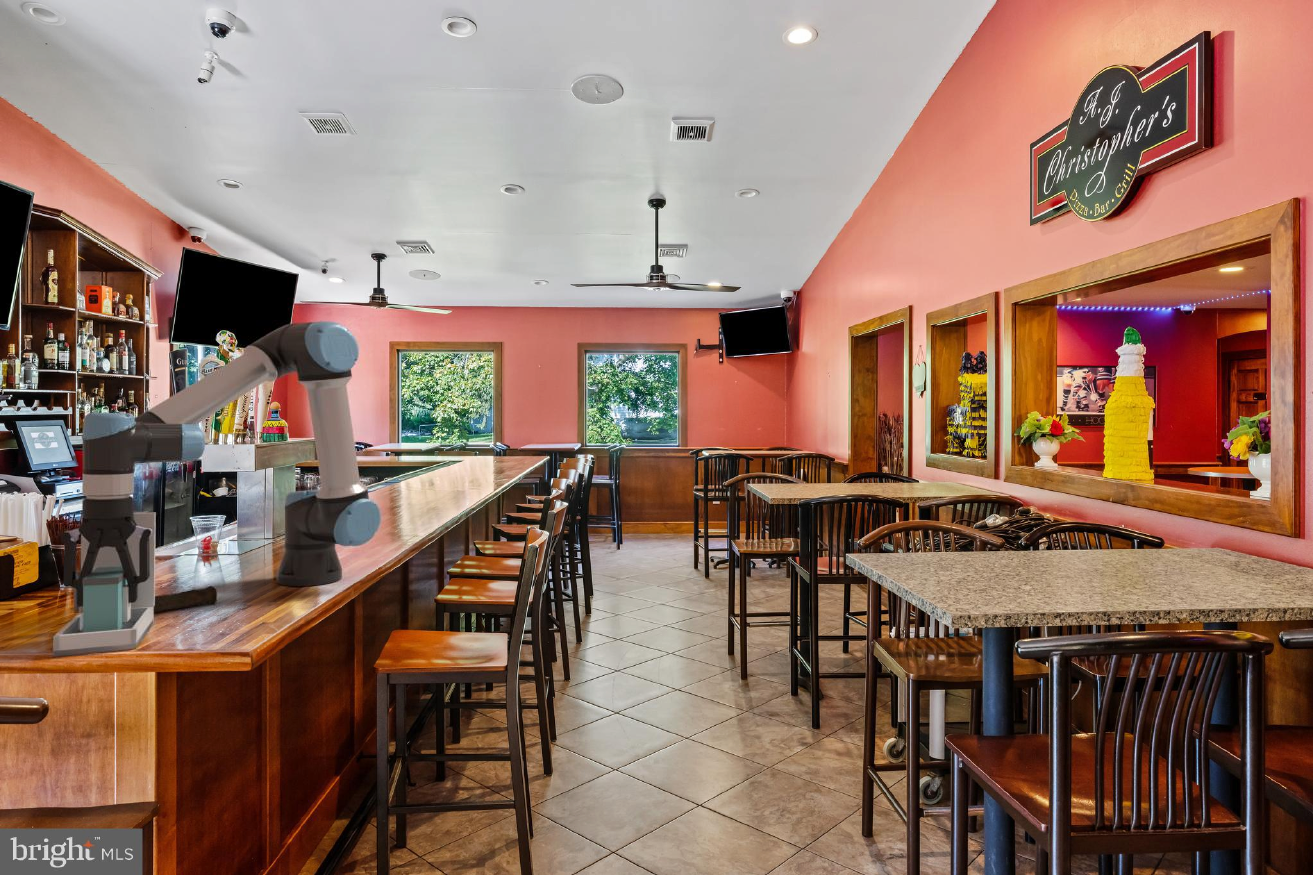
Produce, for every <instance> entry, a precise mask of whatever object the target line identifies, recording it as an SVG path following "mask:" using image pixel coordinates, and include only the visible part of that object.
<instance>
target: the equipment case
mask: <svg viewBox="0 0 1313 875" xmlns="http://www.w3.org/2000/svg"><path fill="white" fill-rule="evenodd" d="M156 515H157V512H154V511H153V512H134V521H135V523H136V524H137V526H139V527H143V528H152V529H153V533H152V535H151V538H150V540H149V547H150V577H149V578H148V579H147V581H145V582H142V583H139V584H138V598H137V600H136V602H135V603H131V618H130V619H129V621H128V622H126V623H125V624H124V625H123V626H122V628H121V629H120V630H110V631H98V632H87V633H83V606H81V607H78V606H77V590H76V589H75V588H73V614H77V615H75V616H74V617H73V618H72V619H71V620H70V621H69V622H68V623H66V625H64V626H63V627H62V628H60V630H59V631H58V632H56V633H55V634H54V635H53V638H52V639H53V641H52V642H53V643H52V644H53V645H52V646H53V647H52V651H53V652H52V654H53V655H52V657H53V658H54V657H65V656H66V657H67V656H76V655H86V654H96V653H108V652H115V651H116V652H117V651H126V650H127V651H129V650H137V648H138V647H139V645H140V644H141V642H142V641H143V640H144V638H145V637H146V635H147V634H148V633H149V631H150V629H151V628H152V627H153V625H154V624H155V620H154V616H155V615H154V614H155V612H154V605H155V596H156V528H157V527H156V517H157V516H156ZM80 517H81V518H80V522H81V523H82V514H80ZM81 523H80V524H81ZM80 535H81V536H80V545H81V546H80V570H76V579H79V576H80V573H81V570H82V567H83V564H84V561H85V558H86V555H87V550H88V547H89V544H90V543H89V542H88V541H87V540H86V539H85V538H84V537H83V536H82V534H80ZM139 542H140V539H138V538H137V533H136V532H133V534H132V535H131V536H130V537H129V538H128V539H127V543H128V549H129V552H130V555H131V558H132V562H133V565H134V568H135V571H136V574H137V576H139ZM119 566H122V565H121V561H120V558H119V555H118V552H117V551H116V548H115V547H108V546H106V547H102V548H100V550H99V552H98V555H97V558H96V561H95V564H94V567H93V570H92V572H93V571H94V570H95V569H96V568H101V567H119Z"/></svg>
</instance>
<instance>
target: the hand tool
mask: <svg viewBox="0 0 1313 875" xmlns="http://www.w3.org/2000/svg"><path fill="white" fill-rule="evenodd" d="M217 592H218V591H217V588H215V587H214V586H213V585H209V586H207V587H206V588H205V587H204V588H201V589H199V588H198V589H191V590H186V591H184V590H183V591H181V592H176V593H170V594H163V595H155V605H154V613H159V612H163V611H169V610H174V609H181V608H183V609H184V608H188V607H195V606H202V605H207V604H211V605H216V603H217V602H218V599H217V598H218V593H217Z"/></svg>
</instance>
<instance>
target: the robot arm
mask: <svg viewBox="0 0 1313 875" xmlns="http://www.w3.org/2000/svg"><path fill="white" fill-rule="evenodd" d="M359 348H360V347H359V344H358V342H357V339H356V337H355V335H354V334H353V333H352V331H351V330H349V329H348V327H346V326H345V325H343V324H340V323H338V322H334V321H326V320H320V321H313V322H312V321H311V322H310V321H309V322H300V323H299V322H296V323H295V322H294V323H289V324H285V325H283V326H281V327H278V328H276V329H275V330H273V331H271V332H269V333H267V334H265V335H264V336H263V337H261V338H259V339H257V340H256V341H254V342H252V343H251V344H248V345H247V346H246V347H244V350H243V354H241V355H240V356H237V357H236V358H235V359H233V360H231V361H229V362H228V363H226V364H225V365H223V366H221V367H219V368H217V369H216V370H214V371H212V372H211V373H208V374H207V375H205V376H204V377H202V378H200V379H199V380H197V381H195V382H194V383H193V384H190V385H188V386H187V387H185V388H184V389H182V390H180V391H178V392H177V393H175V394H173V395H172V396H170V397H168V398H167V399H164V400H163V401H162V402H160V403H158V404H157V405H155V406H153V407H152V408H150V409H148V410H146V411H144V412H143V413H140V414H139V415H137V416H134V414H133V413H129V412H126V413H124V412H123V413H122V412H90V413H88V414H86V415H85V416H84V418H83V424H82V436H81V440H82V487H81V488H82V492H81V494H82V495H83V496H85V498H83V499H82V503H81V504H82V507H81V508H82V510H81V512H82V513H81V515H82V523H80V525H79V526H78V528H76V529H72V530H69V529H68V530H66V531H63V532H62V533H61V534H60V539H61V542H62V544H63V545H64V546H63V547H64V550H63V551H64V552H63V554H64V555H63V586H64V587H67V588H69V587H70V588H73V589H74V588H75V589H76V590H77V606H78V607H79V608H81V606H83V586H82V579H84V578H85V577H86V576H87V575H89V574H90V573H91V572H92V570H93V567H94V564H95V561H96V558H97V555H98V552H99V550H100V548H102V547H106V546H108V547H115V548H116V551H117V552H118V555H119V558H120V561H121V565H122V568H123V571H124V574H125V577H126V580H127V583H128V584H126V585H125V586H124V587H123V622H128V621H129V619H130V618H131V603H135V602H136V600H137V598H138V584H139V583H142V582H145V581H147V579H148V578H149V577H150V547H149V540H150V538H151V535H152V533H153V529H152V528H143V527H139V526H137V524H136V523H135V521H134V513H135V512H134V508H135V506H134V504H135V499H134V497H133V496H131V495H132V494H134V492H135V464H144V463H176V462H177V463H184V462H193V461H197V460H199V459H200V458H201V457H202V456H203V454H204V452H205V447H206V438H205V437H206V436H205V434H204V432H203V430H202V428H201V427H200V426H199V425H198V424H200V423H201V422H203V421H205V419H207V418H209V417H211V416H213V415H214V414H215V413H217V412H219V411H220V410H222V409H223V408H225V407H227V406H228V405H229V404H232V403H233V402H235V401H237V399H240V398H241V397H242V396H245V395H246V394H247V393H249V392H251V391H252V390H253V389H255V388H257V387H258V386H260V385H262V384H264V383H265V382H267V383H269V382H270V383H273V382H275V381H276V380H279V379H280V378H281V377H284V376H286V375H290V374H294V373H297V379H298V380H297V381H298V383H299V384H300V385H302V386H304V387H305V389H306V391H307V398H308V403H309V411H310V419H311V424H312V426H311V427H312V432H313V438H314V447H315V451H316V458H317V465H318V472H319V479H320V485H321V487H320V489H310V490H300V491H299V490H298V491H291V492H288V494H286V496H285V502H284V552H283V554H282V558H281V561H279V566H278V568H277V571H276V578H275V580H276V583H277V584H278V585H282V586H289V587H309V586H319V585H326V584H331V583H334V582H335V583H336V582H338V581H339V580H341V579H342V578H343V568H342V565H341V564H342V563H341V562H340V558H339V556H338V552H337V550H336V545H339V546H341V547H358V546H363V545H365V544H366V543H368V542H369V541H370V540H372V539H373V538H374V536H375V535H376V533H377V532H378V530H379V529H380V527H381V522H382V513H381V509H380V507H379V505H378V504H377V503H375V501H373V500H372V499H370V497H369V491H368V490H369V489H368V486H367V485H366V484H364V483H363V482H362V481H361V480H360V474H359V466H358V458H357V452H356V444H355V437H354V430H353V423H352V417H351V408H350V403H349V395H348V394H349V393H348V387H347V385H348V383H349V382H350V380H351V379H352V378H353V374H352V368H353V367H354V366H355V365H356V361H358V359H359V353H360V352H359V350H360V349H359ZM133 532H136V533H137V538H138V539H140V542H139V576H137V574H136V571H135V568H134V565H133V562H132V558H131V555H130V552H129V549H128V543H127V539H128V538H129V537H130V536H131V535H132V534H133ZM81 534H82V536H83V537H84V538H85V539H86V540H87V541H88V542H89V543H90V544H89V547H88V550H87V555H86V558H85V561H84V564H83V567H82V570H81V569H80V576H79V579H76V571H77V549H78V547H77V545H78V544H77V541H79V539H80V535H81Z"/></svg>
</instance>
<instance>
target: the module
mask: <svg viewBox="0 0 1313 875" xmlns="http://www.w3.org/2000/svg"><path fill="white" fill-rule="evenodd" d="M126 584H128V583H127V580H126V577H125V574H124V571H123V568H122V566H119V567H101V568H96V569H95V570H94V571H93V572H91V573H90V574H89V575H87V576H86V577H85V578H84V579H82V586H83V633H87V632H98V631H110V630H120V629H121V628H122V626H123V625H124V624H125V623H126V622H123V587H124V586H125V585H126Z"/></svg>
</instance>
